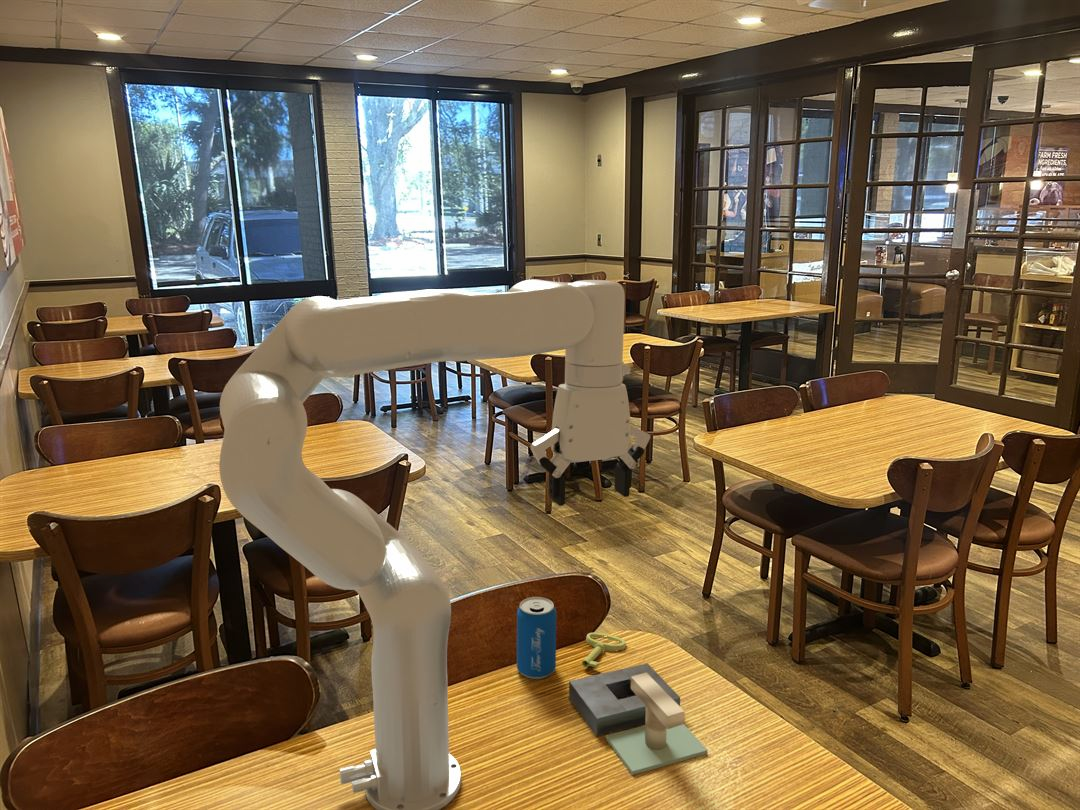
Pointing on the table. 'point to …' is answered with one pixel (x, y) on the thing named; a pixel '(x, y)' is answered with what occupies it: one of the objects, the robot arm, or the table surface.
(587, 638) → the key
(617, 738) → the mat
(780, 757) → the table surface
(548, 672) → the beverage can
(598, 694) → the lock housing
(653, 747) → the t key
